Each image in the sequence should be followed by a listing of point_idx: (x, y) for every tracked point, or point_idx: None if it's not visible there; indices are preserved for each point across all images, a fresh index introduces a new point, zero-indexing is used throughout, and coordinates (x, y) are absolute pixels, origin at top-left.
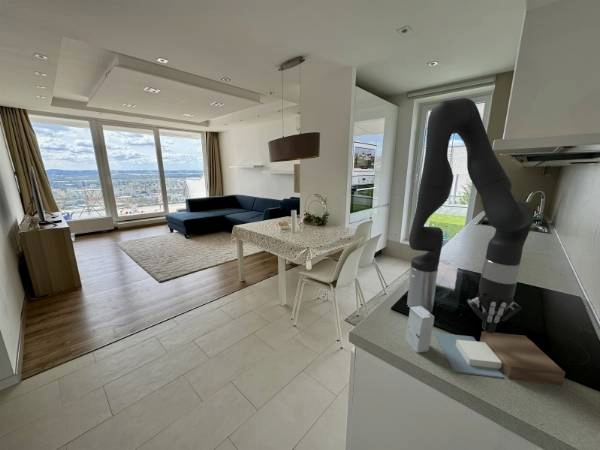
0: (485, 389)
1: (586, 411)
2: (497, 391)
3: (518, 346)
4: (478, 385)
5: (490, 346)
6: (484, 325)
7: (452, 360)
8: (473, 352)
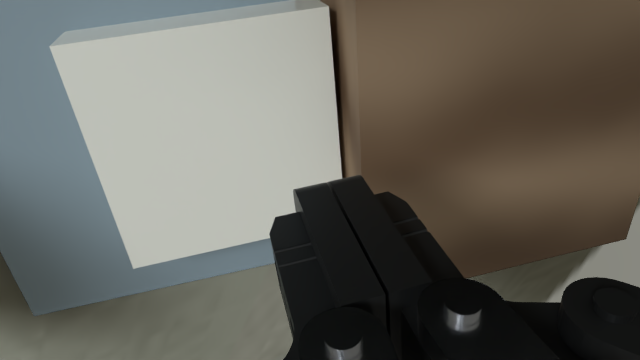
0: (191, 349)
1: (538, 292)
2: (245, 337)
3: (555, 66)
4: (162, 341)
5: (345, 72)
6: (287, 311)
7: (24, 235)
8: (178, 187)
